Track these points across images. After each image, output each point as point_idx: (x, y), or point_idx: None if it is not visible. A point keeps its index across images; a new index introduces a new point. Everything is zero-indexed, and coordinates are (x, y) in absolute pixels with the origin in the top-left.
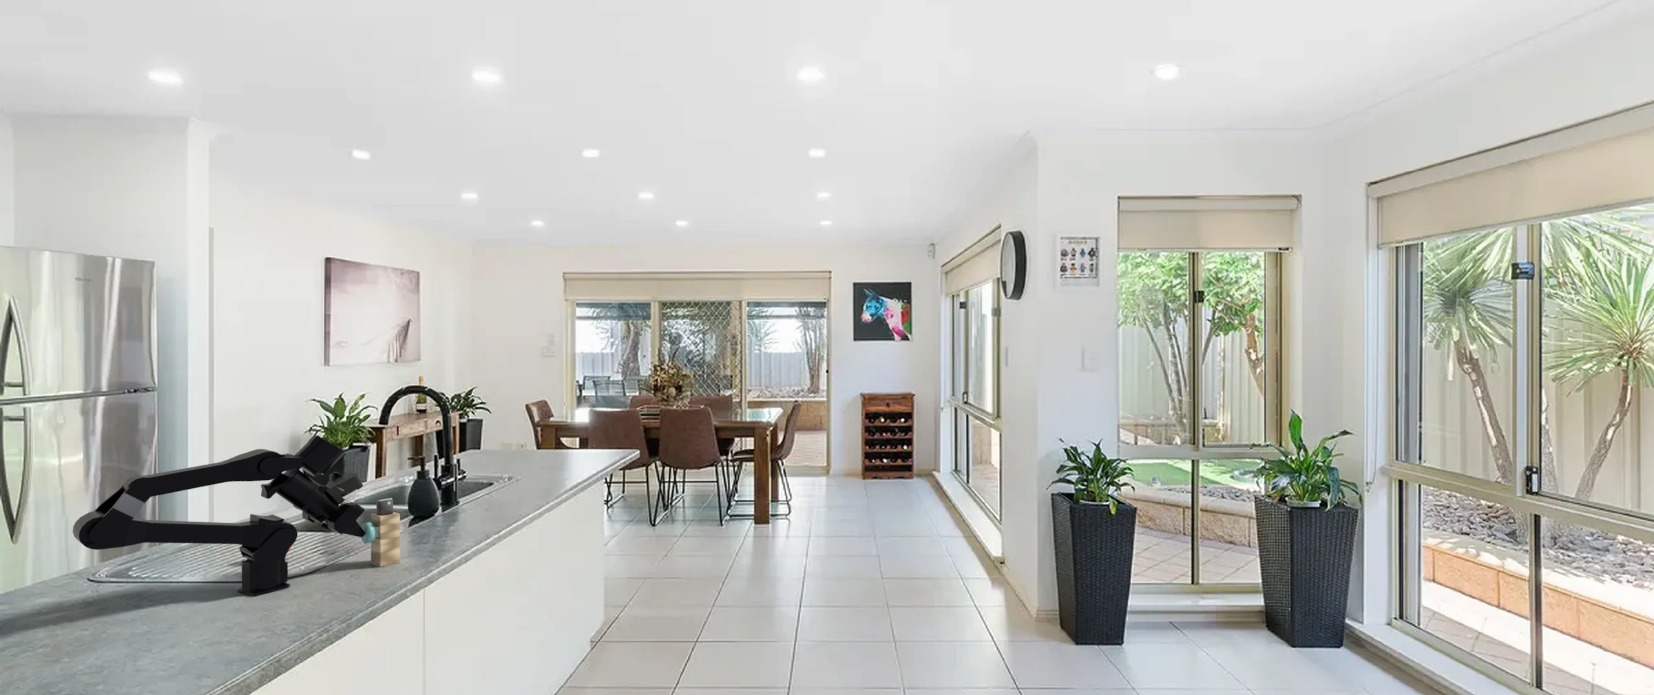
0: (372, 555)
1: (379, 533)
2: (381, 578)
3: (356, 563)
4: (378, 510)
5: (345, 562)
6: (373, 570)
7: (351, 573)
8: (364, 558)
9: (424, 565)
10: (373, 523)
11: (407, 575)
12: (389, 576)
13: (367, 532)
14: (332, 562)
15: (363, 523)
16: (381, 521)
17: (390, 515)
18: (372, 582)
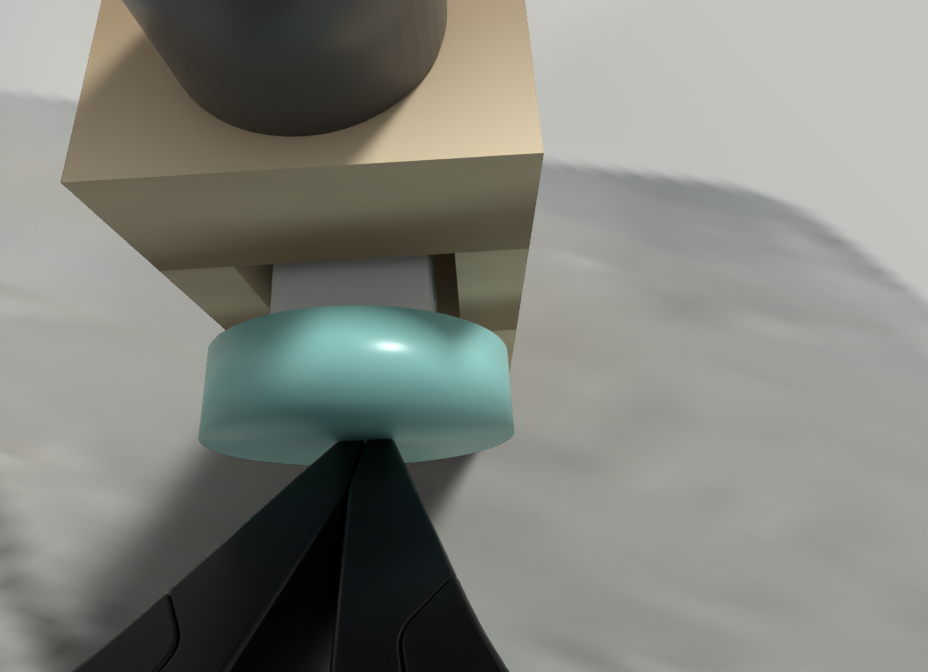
0: None
1: (487, 301)
2: (841, 510)
3: (225, 495)
4: (321, 46)
5: (113, 548)
6: (549, 474)
7: (507, 632)
8: (133, 403)
9: (680, 196)
10: (255, 260)
11: (877, 352)
12: (820, 449)
13: (458, 430)
14: (9, 627)
15: (273, 412)
16: (536, 192)
17: (524, 7)
18: (922, 603)
